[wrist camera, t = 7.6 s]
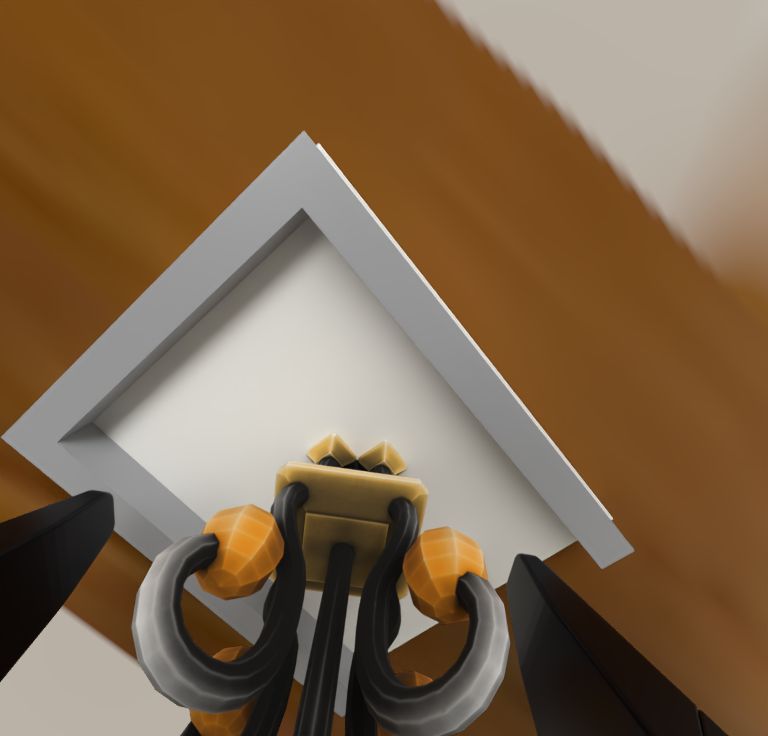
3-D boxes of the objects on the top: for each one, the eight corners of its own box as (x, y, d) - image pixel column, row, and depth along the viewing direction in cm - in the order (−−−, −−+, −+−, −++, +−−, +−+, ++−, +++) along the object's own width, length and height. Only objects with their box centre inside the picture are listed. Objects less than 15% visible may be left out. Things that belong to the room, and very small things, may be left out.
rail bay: (596, 498, 12) (638, 548, 10) (346, 650, 15) (339, 718, 12) (326, 153, 10) (307, 126, 7) (69, 406, 12) (-2, 439, 10)
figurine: (470, 419, 10) (590, 900, 3) (436, 560, 12) (451, 1136, 4) (300, 388, 11) (-35, 739, 3) (287, 529, 12) (42, 1012, 4)
